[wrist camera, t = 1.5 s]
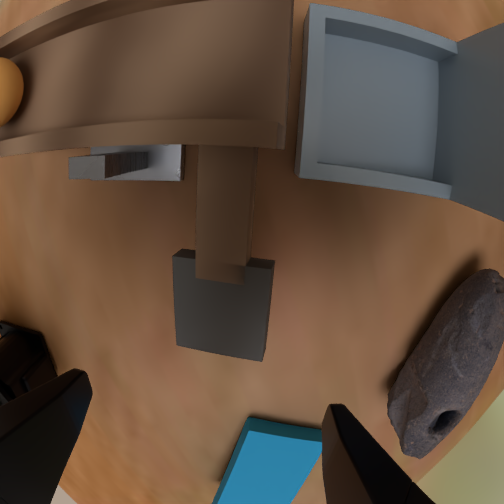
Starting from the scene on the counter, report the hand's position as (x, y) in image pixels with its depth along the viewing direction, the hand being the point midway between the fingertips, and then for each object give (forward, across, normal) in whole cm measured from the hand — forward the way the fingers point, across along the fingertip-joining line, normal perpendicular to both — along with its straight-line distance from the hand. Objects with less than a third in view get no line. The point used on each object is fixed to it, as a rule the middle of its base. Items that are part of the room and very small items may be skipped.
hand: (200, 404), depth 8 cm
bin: (+12, -8, -10) cm, 17 cm away
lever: (+7, +7, -6) cm, 11 cm away
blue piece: (+12, -3, +24) cm, 27 cm away
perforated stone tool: (+12, -16, +6) cm, 21 cm away
